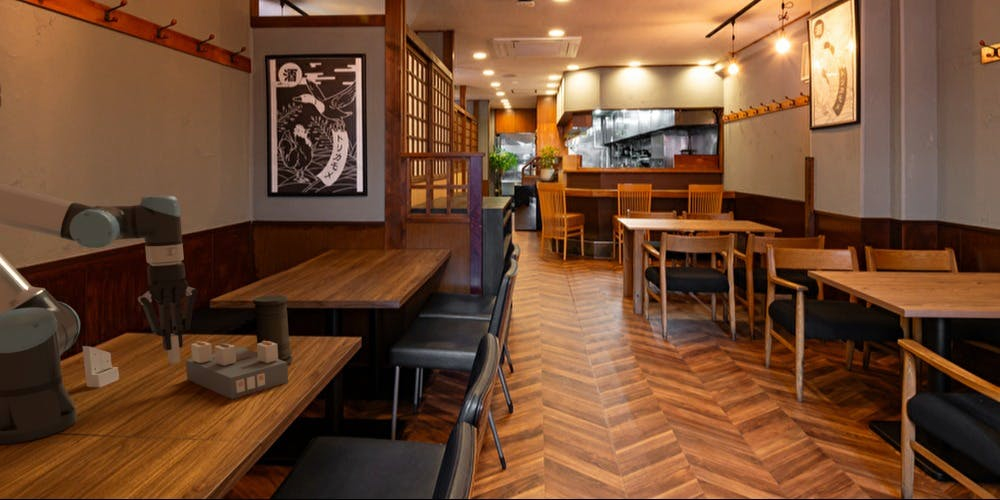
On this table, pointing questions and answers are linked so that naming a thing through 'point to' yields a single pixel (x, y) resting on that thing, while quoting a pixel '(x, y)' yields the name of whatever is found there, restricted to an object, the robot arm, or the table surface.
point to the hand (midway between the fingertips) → (174, 362)
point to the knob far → (201, 352)
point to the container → (273, 324)
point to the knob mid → (225, 354)
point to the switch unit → (238, 374)
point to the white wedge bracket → (98, 367)
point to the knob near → (267, 351)
